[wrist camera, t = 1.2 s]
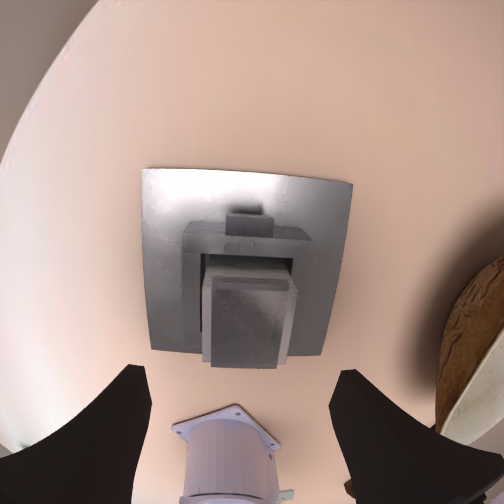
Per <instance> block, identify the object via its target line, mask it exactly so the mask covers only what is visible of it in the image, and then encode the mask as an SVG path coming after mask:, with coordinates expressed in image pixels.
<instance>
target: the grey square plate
mask: <svg viewBox="0 0 504 504" xmlns="http://www.w3.org/2000/svg"><path fill="white" fill-rule="evenodd" d="M352 190H353V184H351V183H347V182H340V181H332V180H325V179H317V178H308V177H300V176H290V175H280V174H269V173H257V172H244V171H228V170H208V169H177V168H145V169H142V250H143V270H144V285H145V297H146V308H147V318H148V327H149V335H150V343H151V349H153V350H162V351H172V352H183V353H196V354H202V286H203V281H204V277H205V273H206V268H207V264H208V259H209V255H210V254H224V255H243V256H261V257H280V258H282V260H283V262H284V264H285V266H286V268H287V270H288V272H289V274H290V276H291V278H292V281H293V283H294V285H295V287H296V289H297V291H298V294H297V300H296V306H295V312H294V318H293V324H292V330H291V335H290V341H289V346H288V352H287V356H314V355H321V351H322V347H323V344H324V340H325V336H326V332H327V327H328V323H329V319H330V315H331V310H332V306H333V301H334V297H335V292H336V287H337V282H338V277H339V272H340V267H341V261H342V256H343V250H344V244H345V238H346V232H347V226H348V219H349V212H350V205H351V198H352Z"/></svg>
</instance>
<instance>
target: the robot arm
mask: <svg viewBox="0 0 504 504" xmlns="http://www.w3.org/2000/svg"><path fill="white" fill-rule="evenodd" d="M151 406H152V401H151V396H150V392H149V387H148V383H147V378H146V373H145V368H144V366H138V365H131V364H128V365H127V366H126V367H125V368H124V369H123V370H122V371H121V372H120V373H119V374H118V376H117V377H116V378H115V379H114V380H113V381H112V382H111V383H110V384H109V385H108V386H107V387H106V388H105V389H104V390H103V391H102V392H101V393H100V394H99V395H98V396H97V397H96V398H95V399H94V400H93V401H92V402H91V403H90V404H89V405H88V406H87V407H86V408H84V409H83V410H82V411H81V412H80V413H79V414H78V415H77V416H75V417H74V418H73V419H72V420H70V421H69V422H68V423H67V424H65V425H64V426H62V427H61V428H60V429H58V430H57V431H55V432H54V433H52V434H51V435H49V436H48V437H46V438H44V439H43V440H41V441H39V442H37V443H36V444H34V445H32V446H30V447H27V448H25V449H23V450H21V451H19V452H16V453H14V454H11V455H9V456H6V457H3V458H0V504H131V498H132V490H133V482H134V476H135V472H136V468H137V464H138V461H139V457H140V454H141V450H142V446H143V443H144V439H145V436H146V432H147V429H148V425H149V419H150V413H151ZM329 410H330V415H331V420H332V424H333V428H334V431H335V434H336V437H337V440H338V442H339V445H340V448H341V451H342V453H343V456H344V459H345V461H346V464H347V467H348V470H349V473H350V476H351V480H352V484H353V489H354V494H355V499H356V504H484V503H483V501H484V500H486V498H487V497H486V495H485V492H486V491H487V490H488V489H490V488H491V487H492V486H493V485H494V484H495V483H497V482H498V481H499V480H500V479H501V478H502V477H503V476H504V459H503V457H502V456H501V454H496V453H492V452H487V451H483V450H478V449H475V448H472V447H469V446H466V445H463V444H461V443H458V442H456V441H453V440H451V439H449V438H447V437H445V436H443V435H441V434H439V433H437V432H435V431H433V430H432V429H430V428H428V427H427V426H425V425H423V424H422V423H420V422H419V421H417V420H416V419H414V418H413V417H412V416H410V415H409V414H407V413H406V412H405V411H403V410H402V409H401V408H400V407H398V406H397V405H396V404H395V403H393V402H392V401H391V400H390V399H389V398H388V397H386V396H385V395H384V394H383V393H382V392H381V391H380V390H378V389H377V388H376V387H375V386H374V385H373V384H372V383H371V382H370V381H368V380H367V379H366V378H365V377H364V376H363V375H362V374H361V373H360V372H358V371H357V370H356V369H353V370H342V371H341V373H340V376H339V379H338V382H337V384H336V387H335V390H334V393H333V395H332V398H331V401H330V403H329ZM238 412H239V413H238ZM171 429H172V431H173V432H175V433H176V434H177V435H178V436H180V437H181V438H182V439H184V440H185V441H186V442H188V450H187V460H186V471H185V482H184V494H183V497H180V500H179V504H276V502H277V500H278V497H279V484H278V477H277V471H276V464H275V458H274V451H275V450H278V449H280V448H281V445H280V444H279V443H278V442H277V441H276V440H275V439H274V438H272V437H271V436H270V435H269V434H268V433H267V432H266V431H265V430H264V429H263V428H261V427H260V426H259V425H258V424H257V423H256V422H255V421H254V420H253V419H252V418H251V417H250V416H249V415H248V414H247V413H246V412H245V411H244V410H243V409H242V408H241V407H239V406H237V405H234V406H231V407H228V408H225V409H222V410H220V411H217V412H214V413H211V414H208V415H205V416H202V417H199V418H196V419H192V420H189V421H186V422H183V423H179V424H176V425H173V426H172V428H171ZM487 504H504V491H503V492H502V493H500V494H499V495H498V496H497V497H495V498H494V499H493V500H491V501H490V502H489V503H487Z"/></svg>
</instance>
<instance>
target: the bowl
mask: <svg viewBox="0 0 504 504" xmlns="http://www.w3.org/2000/svg"><path fill="white" fill-rule="evenodd" d="M435 418H436V432H437V433H439V434H441V435H443V436H445V437H447V438H449V439H451V440H453V441H456V442H458V443H461V444H463V445H468V444H470V443H471V442H473V441H474V440H476V439H477V438H478V437H480V436H482V435H483V434H484V433H486V432H487V431H488V430H489V429H491V428H492V427H493V426H494V425H496V424H497V423H498V422H499V421H500V420H501V419H503V418H504V255H503V256H501V257H500V258H498V259H496V260H494V261H493V262H491V263H490V264H488V265H487V266H485V267H484V268H482V269H481V270H480V271H479V272H478V273H477V274H476V275H475V277H474V278H473V279H472V280H471V281H470V282H469V283H468V285H467V286H466V287H465V289H464V290H463V291H462V293H461V295H460V296H459V298H458V300H457V301H456V303H455V304H454V306H453V309H452V311H451V313H450V315H449V317H448V320H447V322H446V325H445V328H444V332H443V336H442V341H441V347H440V355H439V363H438V370H437V381H436V406H435Z"/></svg>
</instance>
